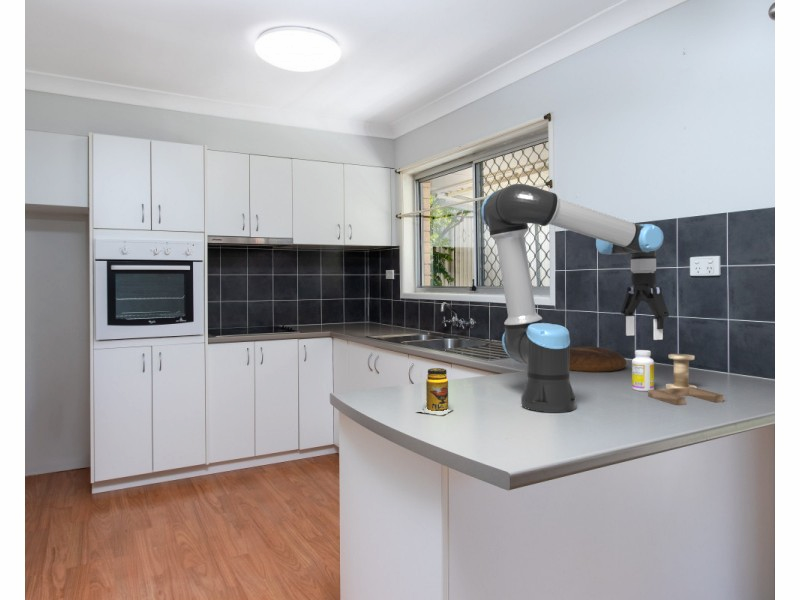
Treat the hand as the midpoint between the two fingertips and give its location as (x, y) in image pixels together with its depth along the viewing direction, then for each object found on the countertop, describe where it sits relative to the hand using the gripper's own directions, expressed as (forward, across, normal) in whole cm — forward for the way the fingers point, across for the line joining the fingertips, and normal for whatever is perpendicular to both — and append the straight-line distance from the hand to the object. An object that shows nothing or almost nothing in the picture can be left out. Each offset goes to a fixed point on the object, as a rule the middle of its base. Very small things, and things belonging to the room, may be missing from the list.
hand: (643, 337), depth 174 cm
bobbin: (+17, -3, -12) cm, 21 cm away
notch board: (+17, -15, -3) cm, 23 cm away
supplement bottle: (+17, 0, 0) cm, 17 cm away
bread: (+18, +45, -9) cm, 49 cm away
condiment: (+17, -10, +74) cm, 77 cm away
